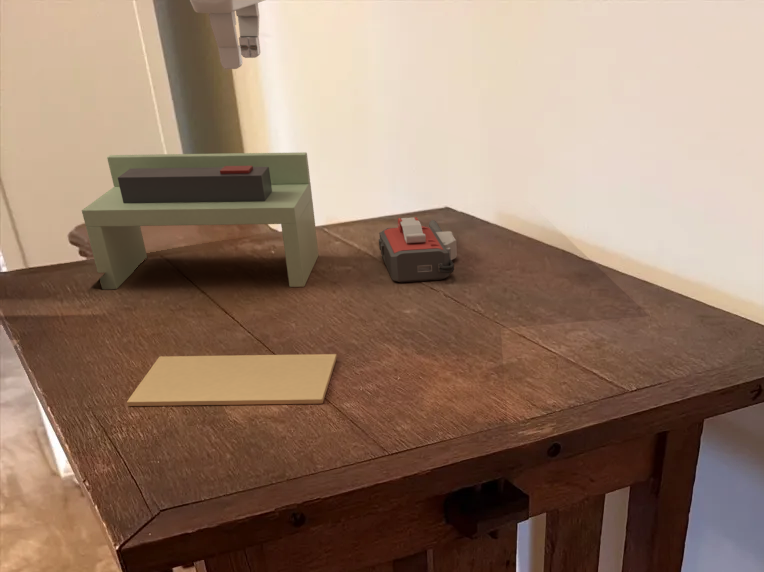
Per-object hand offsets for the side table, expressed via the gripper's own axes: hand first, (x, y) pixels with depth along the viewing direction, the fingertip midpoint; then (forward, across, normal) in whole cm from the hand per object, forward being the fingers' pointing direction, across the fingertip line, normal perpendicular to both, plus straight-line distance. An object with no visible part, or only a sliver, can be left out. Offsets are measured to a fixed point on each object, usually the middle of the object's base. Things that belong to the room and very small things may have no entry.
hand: (242, 62), depth 92 cm
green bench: (+20, 0, -6) cm, 21 cm away
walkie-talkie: (+20, -4, +17) cm, 26 cm away
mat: (+20, +32, +3) cm, 38 cm away
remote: (+12, +1, -6) cm, 14 cm away
